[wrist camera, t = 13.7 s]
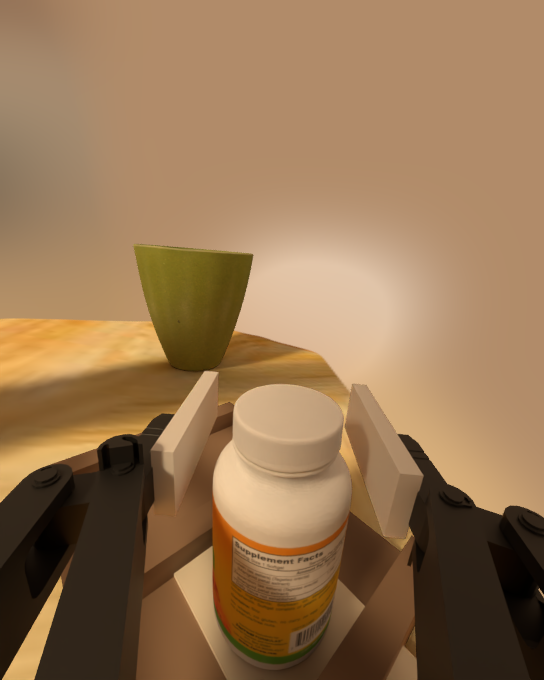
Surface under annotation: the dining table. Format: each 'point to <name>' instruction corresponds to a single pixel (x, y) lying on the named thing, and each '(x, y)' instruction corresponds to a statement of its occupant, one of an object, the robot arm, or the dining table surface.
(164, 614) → the slot board
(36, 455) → the dining table surface
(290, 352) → the dining table surface
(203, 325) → the flower pot
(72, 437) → the dining table surface
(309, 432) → the supplement bottle
